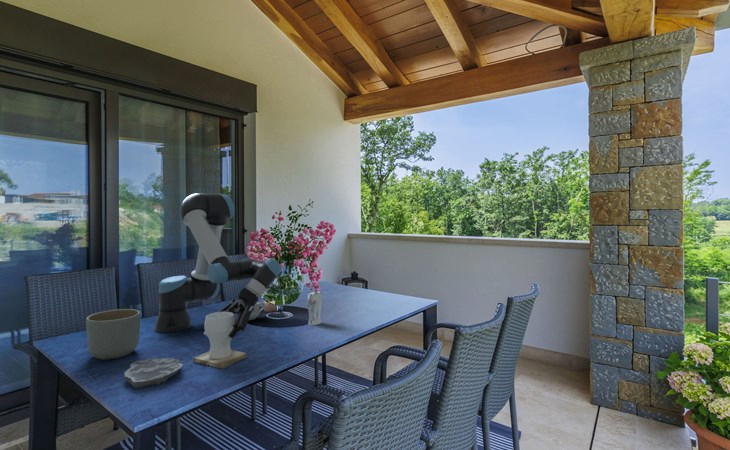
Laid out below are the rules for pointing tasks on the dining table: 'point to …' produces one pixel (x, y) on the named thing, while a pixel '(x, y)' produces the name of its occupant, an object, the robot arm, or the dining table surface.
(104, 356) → the planter
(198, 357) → the oak board
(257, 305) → the teacup
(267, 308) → the tealight holder
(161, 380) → the brain slice
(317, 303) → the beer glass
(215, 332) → the cup
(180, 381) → the dining table surface
